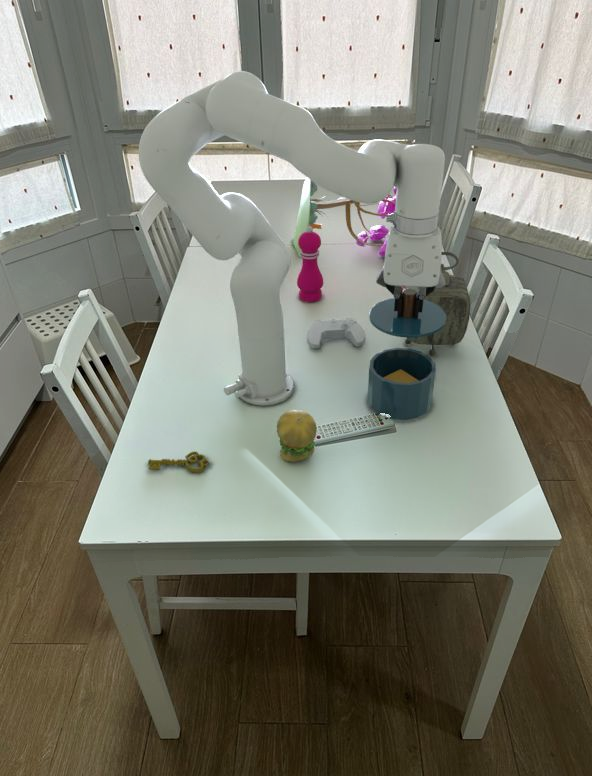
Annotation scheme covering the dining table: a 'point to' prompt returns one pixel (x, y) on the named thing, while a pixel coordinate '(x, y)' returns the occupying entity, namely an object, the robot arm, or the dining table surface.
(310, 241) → the pepper mill
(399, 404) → the crock
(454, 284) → the tabletop clock
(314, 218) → the magenta orchid sprig
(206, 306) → the dining table surface
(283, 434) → the hamburger
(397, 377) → the block
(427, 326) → the lid
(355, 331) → the game controller
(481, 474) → the dining table surface
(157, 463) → the key
